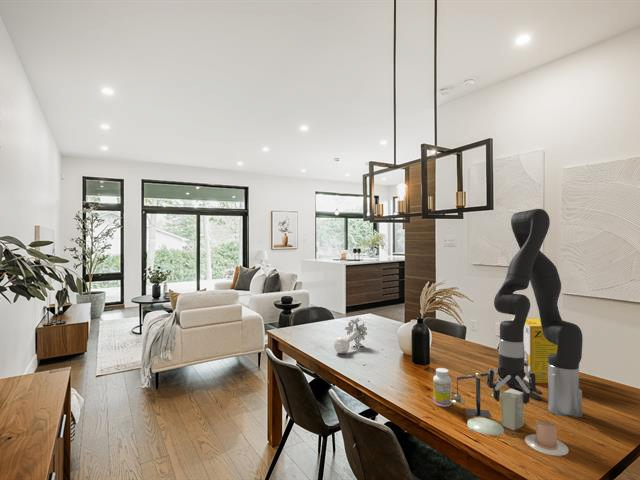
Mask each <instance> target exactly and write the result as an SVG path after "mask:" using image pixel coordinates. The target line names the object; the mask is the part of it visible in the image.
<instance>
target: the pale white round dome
mask: <svg viewBox="0 0 640 480" xmlns="http://www.w3.org/2000/svg"><path fill="white" fill-rule="evenodd" d="M466 423H467V429H468V431H470V432H471V433H472V434H474V432H476V433H477V432H478V433H479V434H482V435H487V436H499V435H502V434H503V433H504V432H505V428H504V426H502V425H501V423H499V422H498V421H496V420H493V419H490V418H488V417H471V418H469V419H467V422H466ZM473 431H474V432H473Z"/></svg>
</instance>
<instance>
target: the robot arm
mask: <svg viewBox="0 0 640 480" xmlns="http://www.w3.org/2000/svg"><path fill="white" fill-rule="evenodd" d="M550 224H551V221H550V216H549V214H548V212H547V211H546V210H544V209H543V208H533V209H530V210H524V211H518V212H515V213H513V215H512V216H511V218H510V225H511V230H512V233H513V235H514V237H515V240H516V242H517V244H518V245H517V246H518V247H519V250H518V251H517V253H515V255H514V256H513V257H512V259H511V260H510V263H509V266H508V268H507V273H506V276H505V280H504V281H503V283H502V285H501V287H500V288H499V289H498V290H497V293H496V294H495V297H494V301H493V306H494V308H495V310H496V311H497V312H498V313H500V314H505V315H512V316H514V317H513V318H514V320H513V321H512V320H503V321H501V322H500V324H499V341H498V367H497V369H495V368H494V369H493V368H492V367H488V368H487V373H488V376H487V380H486V385H487V387H489V388H490V389H493V391H492V393H493V398H494V400H495V401H496V402H500V399H499V389H500V390H501V388H502V387H503V386H504V385H505V384H506V385H507V384H513V385H517V384H520V385H521V387H522V388H523V389H524V390H523V391H522V392H523V393H524V404H525V405H528V403H529V402H530V396H529V393H530V392H533V393H535V391H536V388H537V383H536V382H535V374H534V373H533V372H532V371H529V372H524V355H525V352H524V326H525V322H526V318H528V315H529V313H530V309H531V302H530V299H529V298H528V297H527V295H525V294H519V293H515V292H517V291H524V290H527V289H528V287H529V285H531V288H532V291H533V294H534V297H535V303H536V305H537V309H538V312H539V313H538V315H539V318H540V320H541V326H542V331H543V334H544V336H545V338H546V339H547V340H548V341H549V342H551V343H553V344H556V345H558V346H557V353H556V354H550V355H549V356H548V383H547V388H548V389H547V392H548V394H547V396H548V397H547V398H548V399H547V401H548V403H547V406H548V411H549V412H550V413H551V414H553V415H555V416H560V417H561V416H562V417H576V418H582V417H583V390H582V389H581V388H580V363H581V360H582V357H583V333H582V329H581V328H580V326H579V325H578V324H575V323H573V322H569V321H566V320H563V319H562V317H561V314H560V311H559V306H558V301H559V298H560V294H561V292H562V291H561V290H562V282H561V278H560V274H559V271H558V269H557V266H556V265H555V263H553V261H552V260H551V259H550V258H549V257H548V256H547V255H545V254H544V253H543V252H542V251H541V248H542V245H543V243H544V241H545V239H546V236H547V235H548V231H549V229H550ZM497 373H498V374H497ZM496 374H497V375H498V377H497V379H496V380H495V382H494V377H496V376H497V375H496ZM525 376H527V378H528V379H529V382H528V383H529V386H528V387H526V385H525V384H524V382H523V381H522V380H525V379H524V377H525Z"/></svg>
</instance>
